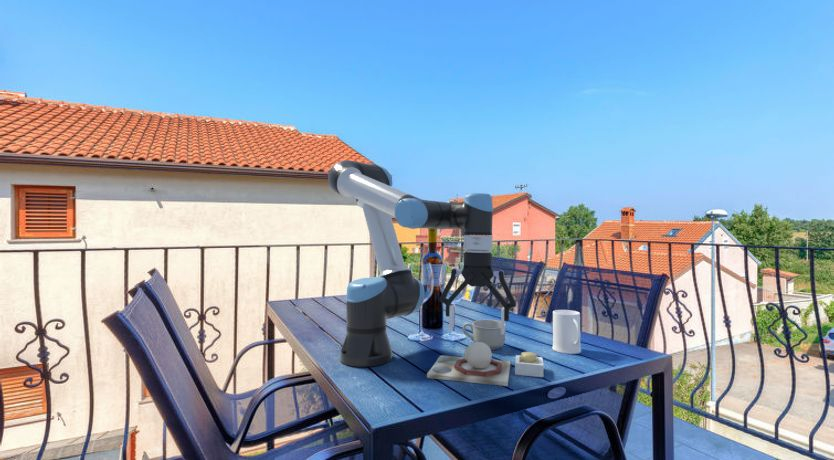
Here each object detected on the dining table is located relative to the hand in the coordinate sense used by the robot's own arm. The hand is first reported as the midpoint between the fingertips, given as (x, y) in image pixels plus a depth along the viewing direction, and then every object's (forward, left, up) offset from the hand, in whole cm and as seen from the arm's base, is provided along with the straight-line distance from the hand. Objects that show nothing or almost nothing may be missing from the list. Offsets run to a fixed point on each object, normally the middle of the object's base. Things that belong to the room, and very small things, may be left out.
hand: (476, 331), depth 102 cm
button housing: (+13, +4, -11) cm, 18 cm away
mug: (+25, +26, -11) cm, 38 cm away
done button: (+13, +4, -8) cm, 16 cm away
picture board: (-2, 0, -11) cm, 11 cm away
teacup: (-1, +24, -11) cm, 26 cm away
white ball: (0, 0, -10) cm, 10 cm away
